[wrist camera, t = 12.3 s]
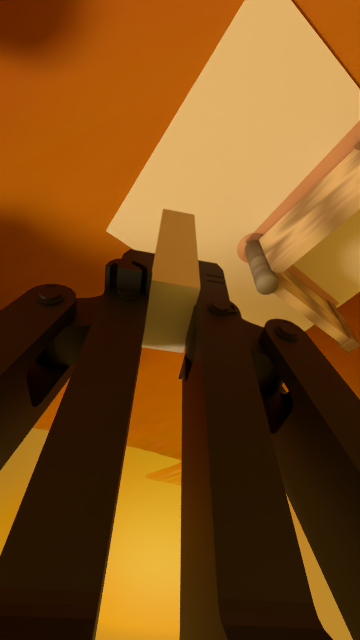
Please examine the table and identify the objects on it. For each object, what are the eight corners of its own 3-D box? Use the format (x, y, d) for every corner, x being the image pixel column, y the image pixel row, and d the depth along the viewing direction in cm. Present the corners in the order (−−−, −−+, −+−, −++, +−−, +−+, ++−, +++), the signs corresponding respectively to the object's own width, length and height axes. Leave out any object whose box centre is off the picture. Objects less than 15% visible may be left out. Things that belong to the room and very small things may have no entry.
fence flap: (266, 246, 38) (281, 280, 32) (257, 238, 38) (270, 271, 31) (378, 144, 31) (430, 159, 24) (369, 131, 30) (419, 143, 23)
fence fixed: (240, 249, 39) (251, 287, 32) (253, 236, 38) (268, 271, 31) (323, 314, 45) (348, 358, 38) (337, 304, 44) (365, 348, 37)
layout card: (281, 346, 50) (282, 348, 50) (106, 229, 39) (105, 231, 38) (457, 217, 36) (460, 218, 36) (264, -32, 24) (265, -34, 24)
